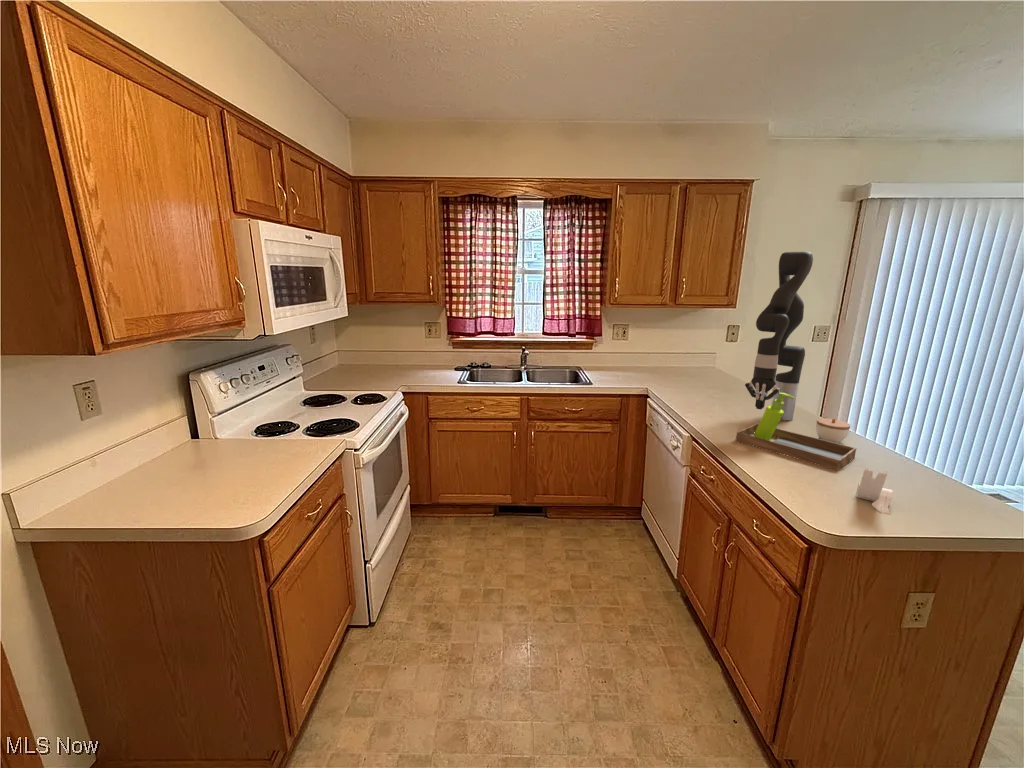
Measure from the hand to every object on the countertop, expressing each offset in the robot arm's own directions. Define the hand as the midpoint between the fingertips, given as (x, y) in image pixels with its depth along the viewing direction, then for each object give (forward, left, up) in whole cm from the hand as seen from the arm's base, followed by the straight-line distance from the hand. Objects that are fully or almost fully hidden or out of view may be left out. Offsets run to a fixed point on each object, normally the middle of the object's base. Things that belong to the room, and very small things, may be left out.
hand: (759, 408), depth 173 cm
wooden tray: (+1, +14, -12) cm, 18 cm away
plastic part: (+28, +44, -12) cm, 54 cm away
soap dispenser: (0, +3, -12) cm, 12 cm away
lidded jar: (-20, +20, -12) cm, 31 cm away
